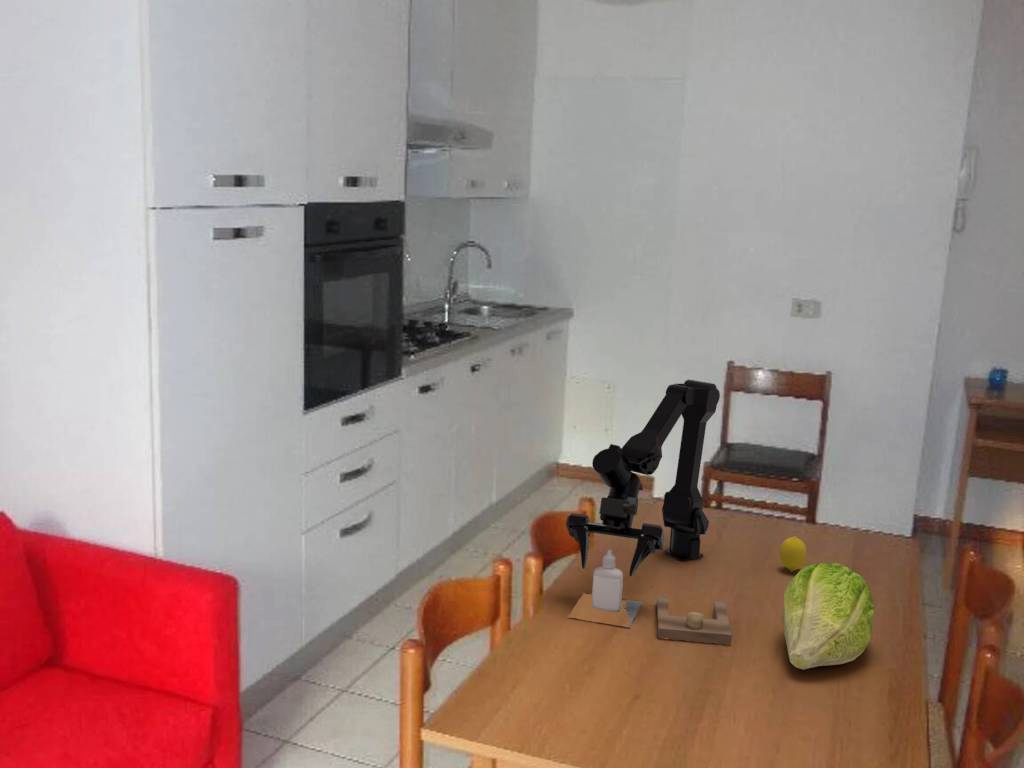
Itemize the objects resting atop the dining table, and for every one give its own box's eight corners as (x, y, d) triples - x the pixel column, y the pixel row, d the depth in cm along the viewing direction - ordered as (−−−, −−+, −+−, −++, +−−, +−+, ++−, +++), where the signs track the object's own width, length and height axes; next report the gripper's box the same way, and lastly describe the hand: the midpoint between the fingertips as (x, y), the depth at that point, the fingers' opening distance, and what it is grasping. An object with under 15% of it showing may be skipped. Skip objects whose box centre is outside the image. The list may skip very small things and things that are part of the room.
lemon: (807, 576, 212) (811, 541, 211) (781, 575, 212) (785, 540, 211) (800, 567, 218) (804, 532, 216) (775, 565, 218) (778, 531, 216)
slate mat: (583, 594, 199) (583, 592, 198) (642, 604, 195) (642, 602, 195) (567, 617, 187) (567, 615, 187) (629, 628, 184) (630, 626, 184)
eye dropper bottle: (610, 616, 188) (614, 556, 185) (587, 606, 192) (591, 548, 189) (624, 610, 191) (628, 551, 188) (602, 601, 195) (605, 543, 192)
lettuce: (845, 710, 165) (756, 686, 175) (891, 621, 182) (808, 604, 192) (837, 638, 160) (745, 617, 169) (885, 553, 177) (800, 539, 187)
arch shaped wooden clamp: (656, 605, 195) (658, 585, 194) (723, 610, 193) (725, 591, 192) (658, 638, 180) (659, 618, 179) (730, 645, 179) (732, 624, 178)
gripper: (570, 473, 193) (552, 545, 185) (666, 485, 187) (651, 560, 179) (578, 500, 202) (561, 570, 194) (670, 513, 196) (656, 585, 188)
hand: (606, 571), depth 188 cm, fingers open, 9 cm apart
